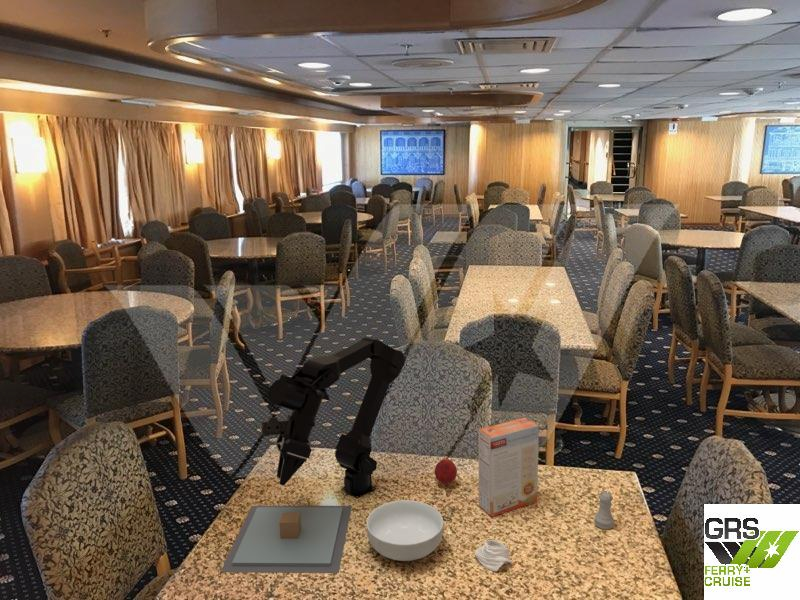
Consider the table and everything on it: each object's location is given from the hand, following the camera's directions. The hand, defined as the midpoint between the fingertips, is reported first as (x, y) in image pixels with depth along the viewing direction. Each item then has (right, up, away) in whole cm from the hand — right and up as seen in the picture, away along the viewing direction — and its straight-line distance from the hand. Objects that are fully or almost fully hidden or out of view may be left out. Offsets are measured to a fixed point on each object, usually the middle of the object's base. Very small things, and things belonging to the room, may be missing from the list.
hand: (280, 481), depth 140 cm
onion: (+39, -8, +24) cm, 47 cm away
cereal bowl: (+28, -15, -2) cm, 32 cm away
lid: (+2, -13, +3) cm, 14 cm away
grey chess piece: (+74, -12, +6) cm, 75 cm away
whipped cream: (+47, -15, -6) cm, 50 cm away
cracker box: (+53, -10, +15) cm, 56 cm away
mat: (+2, -14, +3) cm, 14 cm away
